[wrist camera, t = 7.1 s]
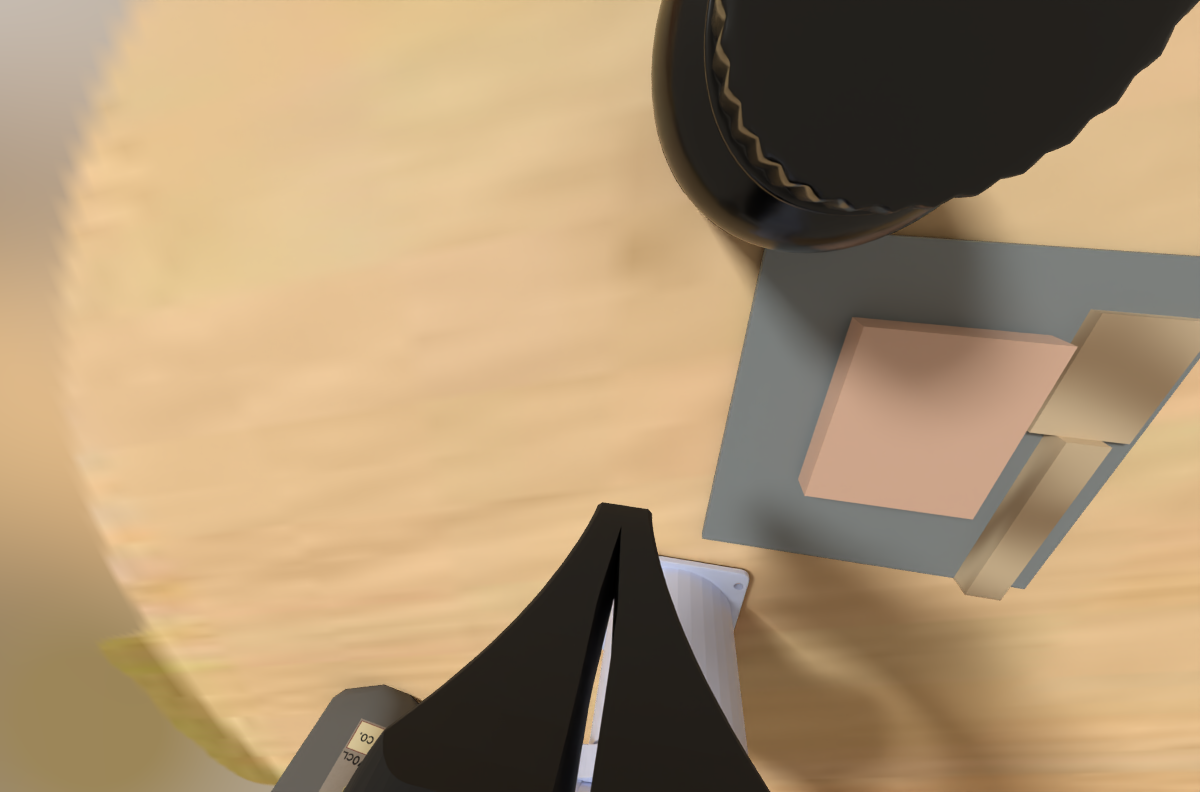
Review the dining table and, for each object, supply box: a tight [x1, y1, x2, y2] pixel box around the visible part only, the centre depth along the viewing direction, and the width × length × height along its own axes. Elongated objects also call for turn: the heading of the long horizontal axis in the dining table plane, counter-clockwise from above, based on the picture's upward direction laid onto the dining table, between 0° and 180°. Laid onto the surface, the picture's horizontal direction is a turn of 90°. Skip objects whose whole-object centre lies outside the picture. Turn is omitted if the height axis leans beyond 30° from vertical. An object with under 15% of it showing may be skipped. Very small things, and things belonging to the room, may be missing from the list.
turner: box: [954, 309, 1200, 600], centre depth 18 cm, size 14×4×1 cm, turn 177°
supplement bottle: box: [651, 0, 1200, 253], centre depth 10 cm, size 7×7×12 cm
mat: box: [702, 235, 1200, 589], centre depth 19 cm, size 16×16×1 cm
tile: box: [798, 317, 1077, 520], centre depth 18 cm, size 8×2×7 cm
